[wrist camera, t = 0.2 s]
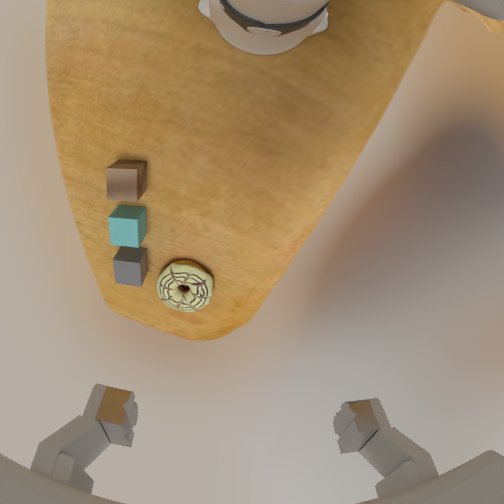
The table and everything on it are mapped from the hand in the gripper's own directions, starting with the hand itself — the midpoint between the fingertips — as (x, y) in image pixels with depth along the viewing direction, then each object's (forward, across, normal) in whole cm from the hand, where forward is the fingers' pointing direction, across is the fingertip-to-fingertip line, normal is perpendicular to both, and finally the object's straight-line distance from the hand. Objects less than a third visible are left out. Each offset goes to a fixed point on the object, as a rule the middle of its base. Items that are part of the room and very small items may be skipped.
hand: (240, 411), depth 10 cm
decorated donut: (+42, +7, +20) cm, 47 cm away
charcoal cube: (+41, +17, +16) cm, 47 cm away
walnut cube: (+39, +17, 0) cm, 43 cm away
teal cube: (+40, +17, +8) cm, 44 cm away
